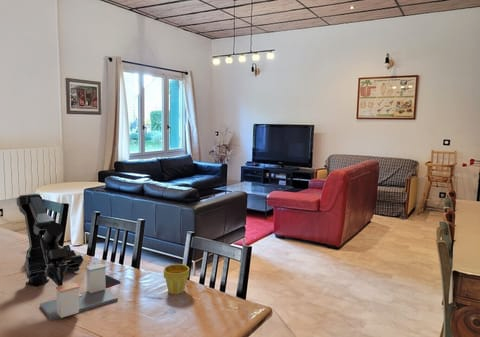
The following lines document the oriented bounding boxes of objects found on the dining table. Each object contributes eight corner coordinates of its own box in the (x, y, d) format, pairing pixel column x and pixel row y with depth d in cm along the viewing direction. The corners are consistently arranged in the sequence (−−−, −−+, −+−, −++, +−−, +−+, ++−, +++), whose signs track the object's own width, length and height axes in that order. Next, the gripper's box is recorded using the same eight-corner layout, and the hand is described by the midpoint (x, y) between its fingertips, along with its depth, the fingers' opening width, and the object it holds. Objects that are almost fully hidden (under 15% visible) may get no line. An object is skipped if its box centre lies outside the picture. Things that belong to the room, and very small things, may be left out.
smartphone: (101, 272, 171) (121, 281, 162) (101, 274, 171) (121, 283, 162) (86, 277, 165) (106, 286, 156) (86, 279, 165) (106, 288, 156)
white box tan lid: (56, 313, 131) (55, 287, 130) (75, 307, 135) (74, 282, 134) (60, 318, 128) (60, 291, 127) (79, 312, 132) (79, 286, 131)
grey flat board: (40, 306, 138) (40, 302, 138) (103, 289, 155) (103, 285, 155) (51, 320, 129) (51, 316, 129) (117, 300, 145) (117, 296, 145)
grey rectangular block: (86, 289, 150) (85, 266, 149) (101, 285, 155) (101, 263, 154) (90, 293, 147) (90, 270, 146) (106, 289, 152) (106, 266, 151)
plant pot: (182, 298, 149) (182, 274, 148) (158, 294, 152) (159, 271, 151) (192, 288, 159) (193, 265, 158) (170, 284, 162) (171, 262, 161)
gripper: (27, 243, 132) (37, 284, 125) (81, 234, 144) (92, 271, 138) (22, 258, 138) (30, 297, 132) (74, 248, 151) (84, 284, 144)
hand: (61, 287), depth 136 cm, fingers closed
